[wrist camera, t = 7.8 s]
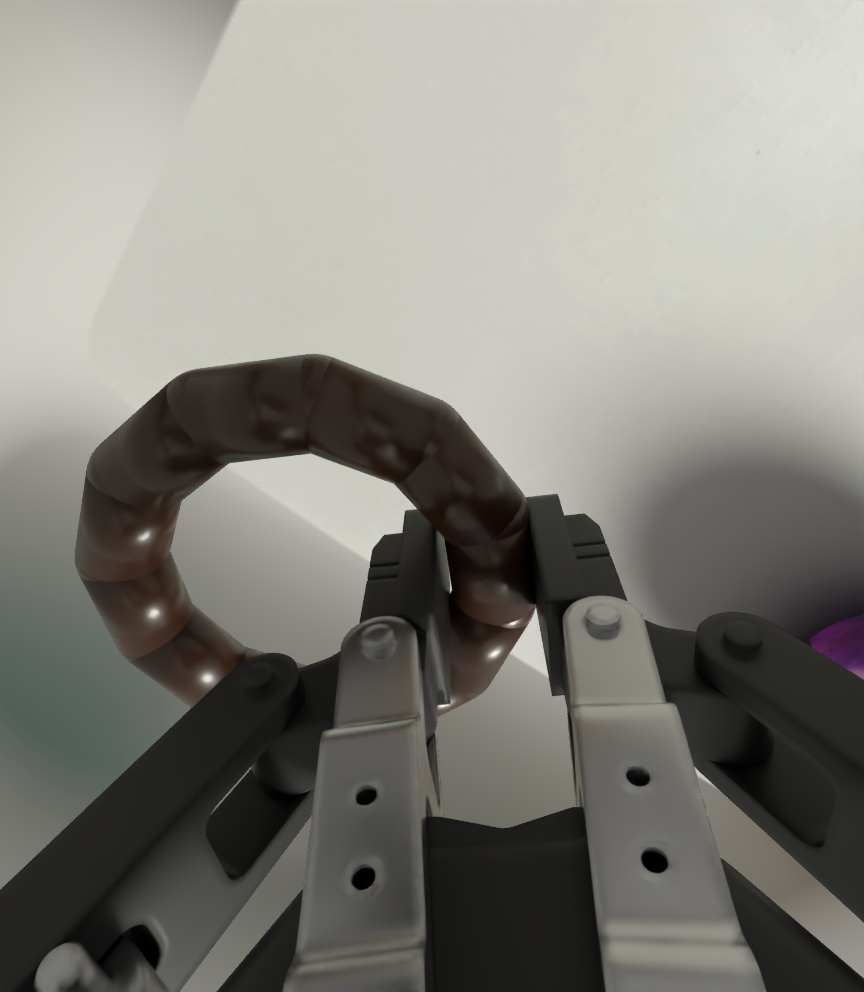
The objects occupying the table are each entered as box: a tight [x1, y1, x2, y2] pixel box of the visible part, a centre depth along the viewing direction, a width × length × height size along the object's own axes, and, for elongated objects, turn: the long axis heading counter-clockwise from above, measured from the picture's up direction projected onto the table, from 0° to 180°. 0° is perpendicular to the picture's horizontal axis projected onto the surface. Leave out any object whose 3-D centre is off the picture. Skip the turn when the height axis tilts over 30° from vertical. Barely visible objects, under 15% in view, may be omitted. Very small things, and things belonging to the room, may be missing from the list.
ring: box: [75, 354, 536, 717], centre depth 14 cm, size 10×10×2 cm
